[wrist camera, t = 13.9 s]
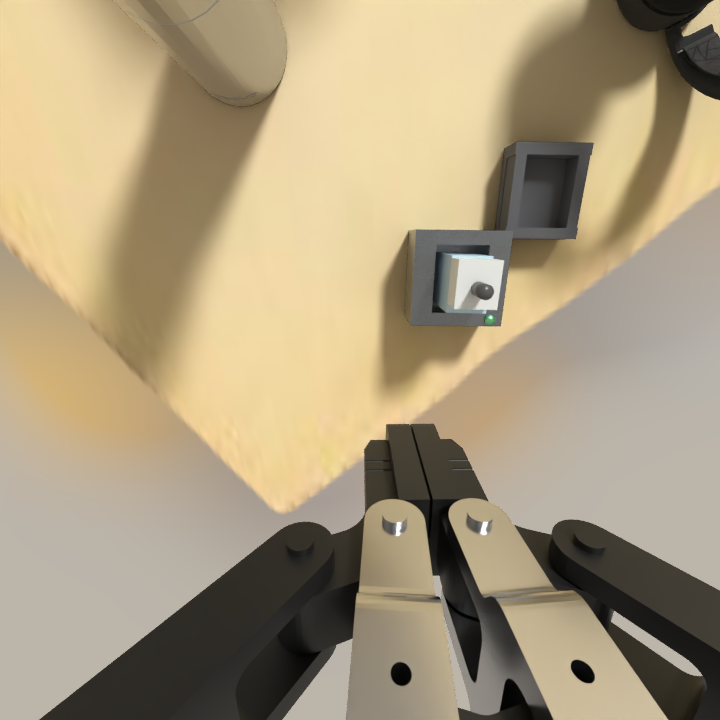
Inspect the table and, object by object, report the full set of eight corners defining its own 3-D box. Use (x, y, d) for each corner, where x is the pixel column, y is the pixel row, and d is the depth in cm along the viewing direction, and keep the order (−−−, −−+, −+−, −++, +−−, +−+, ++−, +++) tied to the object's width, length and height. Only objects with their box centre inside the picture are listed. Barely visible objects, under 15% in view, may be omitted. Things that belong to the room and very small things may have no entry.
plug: (435, 252, 38) (466, 257, 27) (470, 253, 38) (514, 259, 27) (431, 300, 40) (459, 323, 29) (464, 300, 40) (504, 324, 29)
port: (408, 230, 39) (416, 229, 34) (494, 231, 39) (514, 230, 34) (404, 315, 41) (411, 326, 36) (484, 316, 42) (501, 327, 36)
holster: (504, 148, 36) (516, 141, 33) (575, 149, 36) (593, 142, 33) (493, 238, 39) (504, 238, 36) (559, 239, 39) (575, 239, 36)
